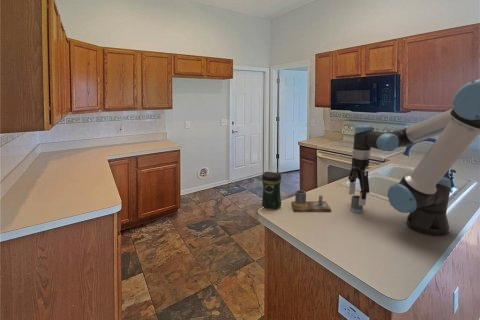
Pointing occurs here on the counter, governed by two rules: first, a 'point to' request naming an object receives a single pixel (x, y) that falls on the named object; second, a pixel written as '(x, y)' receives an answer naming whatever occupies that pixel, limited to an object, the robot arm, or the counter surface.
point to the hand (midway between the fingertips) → (356, 199)
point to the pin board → (312, 206)
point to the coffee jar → (271, 190)
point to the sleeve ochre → (300, 198)
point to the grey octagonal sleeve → (356, 205)
